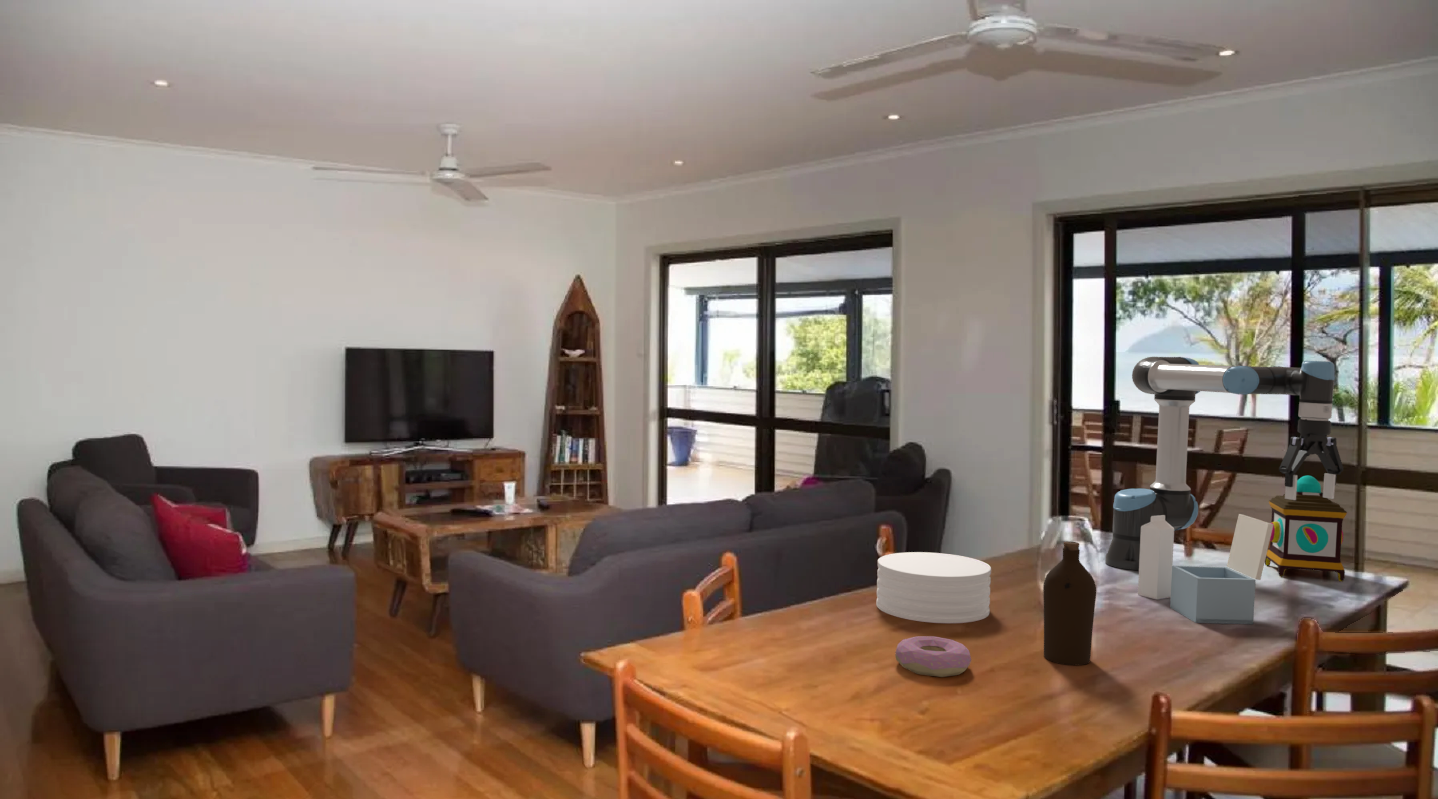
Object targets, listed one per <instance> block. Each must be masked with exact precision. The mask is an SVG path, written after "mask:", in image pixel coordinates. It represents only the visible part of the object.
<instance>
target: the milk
mask: <svg viewBox="0 0 1438 799" xmlns="http://www.w3.org/2000/svg"><path fill="white" fill-rule="evenodd" d="M1174 541H1175V530H1174V528H1173V527H1172V526H1171V525H1170V524H1169V523H1167V522H1166V521H1165V515H1159V516H1151V522H1149V523H1147V524H1145V525H1143V526H1141V537H1140V559H1139V570H1138V583H1137V585H1138V586H1137V595H1138V596H1141V597H1144V598H1145V597H1146V598H1149V599H1152V600H1162V599H1163V600H1164V599H1168V598H1170V599H1171V580H1172V566H1174V565H1173V563H1174V562H1173V561H1174Z"/></svg>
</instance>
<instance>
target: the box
mask: <svg viewBox="0 0 1438 799" xmlns="http://www.w3.org/2000/svg"><path fill="white" fill-rule="evenodd" d="M1256 582H1257V581H1256V579H1254V578H1251V577H1249V576H1247V575H1245V574H1242V573H1240V572H1238V571H1236V570H1233V569H1231V568H1229V567H1227V566H1203V565H1199V566H1198V565H1197V566H1196V565H1172V580H1171V597H1170V604H1169V606H1170V609H1172V610H1173V611H1175V612H1177V613H1178V614H1180V615H1182V616H1183V617H1185V618H1187V619H1188V620H1190V621H1192V622H1194V623H1195V624H1197V623H1198V624H1224V625H1225V624H1226V625H1227V624H1230V625H1231V624H1232V625H1233V624H1234V625H1254V617H1255V616H1254V613H1255V600H1256V599H1255V598H1256V596H1255V595H1256Z"/></svg>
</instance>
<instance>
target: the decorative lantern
mask: <svg viewBox="0 0 1438 799" xmlns="http://www.w3.org/2000/svg"><path fill="white" fill-rule="evenodd" d="M1268 503H1269V504H1268V505H1269V506H1270V508H1271V519H1270V520H1271V522H1269V523H1270V524H1273V528H1272V533H1271V537H1270V541H1269V547H1268V550H1267V554H1266V558H1265V563H1264V566H1266V565H1269V566H1270V565H1271V563H1273V564H1274V565H1276V566H1277V568H1278V569H1277V570H1278V576H1279V577H1280V576H1283V577H1284V576H1285V571H1286V570H1289V569H1290V570H1292V569H1293V570H1305V571H1319V572H1331V573H1333V572H1334V573H1337V580H1338V582H1343V581H1344V580H1345V576H1346V570H1345V567H1344V566H1343V563H1342V561H1341V551H1342V544H1343V542H1344V532H1343V521H1344V519H1345V518H1346V517H1347V514H1348V512H1347V510H1345V508H1344V507H1342V506H1341V504H1340V503H1336V502H1334V501H1332V499H1330V498H1324V497H1323V491H1322V486H1321V483H1320V482H1319V481H1318V479H1316V478H1315V477H1314V476H1312V475H1303V476H1301V477H1300V478H1298V479H1297V491H1296V500H1291V499H1285V493H1284V494H1283V495H1275V496H1274V497H1272V498H1271V499H1269V500H1268Z"/></svg>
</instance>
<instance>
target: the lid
mask: <svg viewBox="0 0 1438 799" xmlns="http://www.w3.org/2000/svg"><path fill="white" fill-rule="evenodd" d="M1270 523H1271V522H1267V521H1263V520H1261V519H1258V518H1254V517H1253V516H1248V515H1245V514H1241V513H1238V517H1237V521H1236V524H1235V529H1234V534H1233V538H1232V543H1231V547H1230V551H1229V555H1228V560H1227V564H1226V567H1228V568H1230V569H1232V570H1235V571H1237V572H1239V573H1241V574H1244V575H1246V576H1248V577H1250V578H1253V579H1255V580H1257V581H1261V579H1262V574H1263V571H1264V566H1265V558H1266V554H1267V551H1268V549H1269V546H1270V537H1271V533H1272V528H1273V524H1270Z"/></svg>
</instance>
